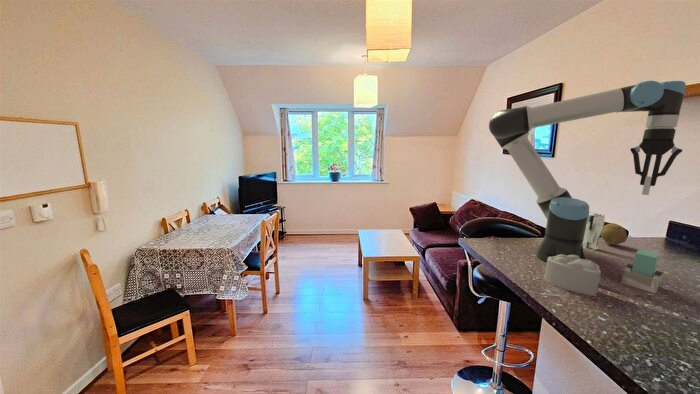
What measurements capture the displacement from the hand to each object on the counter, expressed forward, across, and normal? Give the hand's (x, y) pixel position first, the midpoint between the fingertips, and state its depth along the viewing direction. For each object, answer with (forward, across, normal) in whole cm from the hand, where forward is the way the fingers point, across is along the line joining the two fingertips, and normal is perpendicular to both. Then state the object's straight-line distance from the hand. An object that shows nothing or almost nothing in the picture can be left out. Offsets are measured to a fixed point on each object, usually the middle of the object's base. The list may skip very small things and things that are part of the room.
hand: (645, 194), depth 104 cm
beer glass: (+27, +14, -6) cm, 31 cm away
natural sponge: (+27, +9, -20) cm, 35 cm away
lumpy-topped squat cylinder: (+27, +8, +42) cm, 51 cm away
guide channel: (+26, -6, +24) cm, 36 cm away
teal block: (+25, -6, +26) cm, 37 cm away
